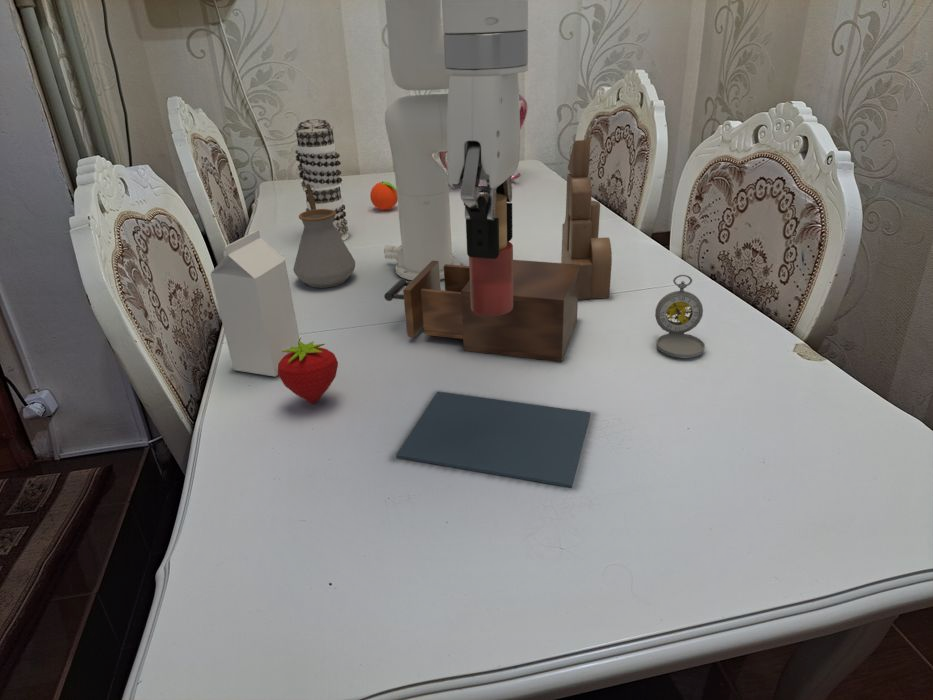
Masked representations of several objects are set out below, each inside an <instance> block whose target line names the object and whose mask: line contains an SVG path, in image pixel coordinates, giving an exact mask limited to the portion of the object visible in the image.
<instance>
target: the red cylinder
mask: <svg viewBox="0 0 933 700" xmlns="http://www.w3.org/2000/svg"><path fill="white" fill-rule="evenodd" d="M480 196H484V197H485V200H486V202H487V201H488V193H487V194H484V193H480ZM507 203H508V202H507V197H506V196H505V195H502V194H496V210H495V218H499V256H498V257H497V258H496V259H489V258H475V257H469V256H468V266H469V274H470V299H471V310H472V311H473V312H474V313H476V314H479V315H483V316H499V315H503V314H506V313H508V312H510V311H511V310H512V309H513V260H514V245H513V243H512V242H511V241H507Z"/></svg>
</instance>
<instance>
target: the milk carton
mask: <svg viewBox="0 0 933 700" xmlns="http://www.w3.org/2000/svg"><path fill="white" fill-rule="evenodd" d="M224 249H225V250H224V251H223V252H222V255H223V256H224V257H223V258H222V259H221V261H220V262H219V263H218V264H217V265H216V266H215V267H214V269H213V270H212V271H211V272H210V278H211V283H212V286H213V290H214V294H215V299H216V303H217V307H218V311H219V315H220V319H221V324H222V328H223V332H224V336H225V340H226V343H227V348H228V352H229V357H230V360H231V364H232V369H233V371H237V372H243V373H249V374H256V375H262V376H269V377H273V378H274V377H275V378H276V377H277V376H279V375H278V363H279V362H280V361H281V359H282V358H283V357H284V356H285V355H286V354H288V353H290V352H282V351H283V350H288V349H290V347H298V342H299V339H300V338H301V337H300V333H299V329H298V328H299V327H298V323H297V322H298V321H297V317H296V310H295V306H294V301H293V295H292V290H291V285H290V284H291V283H290V278H289V273H288V268H287V262H286V258H284V256H283V255H281V254H280V253H278V251H276V250H275V249H274V248H273V247H272V246H271V245H269V244H268V243H267V242H266V241H265V240H264V239H263V238H262V237H261V234H260V230H259V229H257V230H255V231H253V232H251V233H249V234H247V235H245V236H243V237H240V238H239V239H237V240H235V241H233V242H231V243H229V244H227V245H225V246H224ZM300 340H301V339H300Z"/></svg>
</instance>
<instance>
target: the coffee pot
mask: <svg viewBox="0 0 933 700" xmlns="http://www.w3.org/2000/svg"><path fill="white" fill-rule="evenodd" d="M305 186H306V188H307V190H306V191H305V189H304V187H305ZM305 186H304V187H302V190H303V191H304V192H307V194H308V201H309V204H310V208H311V210H309V211H306V210H305V211H303V212H301V213H299V214H298V219H299V220H301V222H302V224H303V230H302V234H301V237H300V243H299V246H298V250H297V253H296V257H295V261H294V265H293V269H292V270H293V273H294V274H295V276H296V277H297V279H299V280H300V281H301V282H303V283H305V284H306V285H307V286H309V287H311V288H317V289H324V288H332V287H333V288H334V287H336V286H340V285H342V284H343V283H345V282H346V281H347V280H348V278H350V276H351V275H352V274H353V272H354V271H355V269H356V260H355V259H354V257H353V255H352V253H351V252H350V250H349V248H348V247H347V245H346V243H345V242H344V240H342V238H341V237H340V235H339V233H338V232H337V230H336V228H335V227H334V225H333V220H334V217H335V215H336V213H337V212H336V211H333V210H329V209H316V205H315V198H314V196H313V194H312V193H313V191H314V190H312V189H311V186H313V185H309V184H307V185H305ZM313 187H314V186H313ZM314 189H315V187H314Z"/></svg>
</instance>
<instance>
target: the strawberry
mask: <svg viewBox="0 0 933 700" xmlns="http://www.w3.org/2000/svg"><path fill="white" fill-rule="evenodd" d="M299 338H300V339H299V342H298V347H290V349H288V350H283V351H282V352H290V353H288V354H286V355H285V356H284V357H283V358H282V359H281V361H280V362H279V363H278V375H277V376H278V377H279V378H280V380H281V382H282V384H283V385H284V387H285V388H287V389H288V390H289V391H291V392H292V393H293V394H294V395H296V396H297V397H300V398H302V399H303V400H305V401H306V402H307V403H310V404H316V403H318V402H319V401H320V400H321V398H322V396H323V395H324V394H325V393H326V392H327V390H328V389H329V388H330V386H331V385H332V383H333V381H334V380H335V378H336V377H337V372H338V367H339V362H338V359H337V357H336V355H335V353H334V352H332V351H330V350H329V349H328V348H324V347H322V346H325V343H319V344H314V340H313V341H310V342H308V343H304V342H303V341H301V339H302V337H299Z"/></svg>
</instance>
